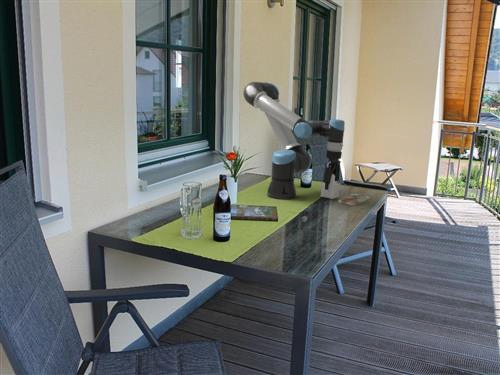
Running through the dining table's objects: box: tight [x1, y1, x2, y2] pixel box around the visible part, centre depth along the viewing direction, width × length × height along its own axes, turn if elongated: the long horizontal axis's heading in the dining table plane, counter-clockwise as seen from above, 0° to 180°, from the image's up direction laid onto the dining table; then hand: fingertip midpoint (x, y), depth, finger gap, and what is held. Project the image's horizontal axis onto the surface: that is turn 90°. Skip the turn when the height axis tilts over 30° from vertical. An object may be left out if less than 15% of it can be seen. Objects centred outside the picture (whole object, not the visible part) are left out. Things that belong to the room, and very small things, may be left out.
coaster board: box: [337, 193, 370, 207], centre depth 253 cm, size 9×20×2 cm, turn 147°
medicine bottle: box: [320, 173, 341, 200], centre depth 253 cm, size 7×7×12 cm
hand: (329, 194), depth 254 cm, fingers closed on medicine bottle, 7 cm apart
